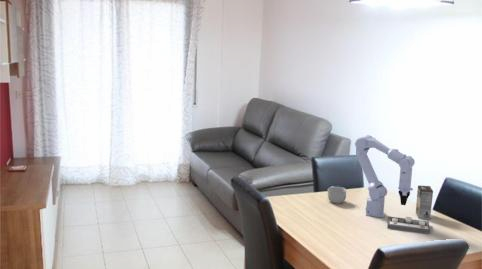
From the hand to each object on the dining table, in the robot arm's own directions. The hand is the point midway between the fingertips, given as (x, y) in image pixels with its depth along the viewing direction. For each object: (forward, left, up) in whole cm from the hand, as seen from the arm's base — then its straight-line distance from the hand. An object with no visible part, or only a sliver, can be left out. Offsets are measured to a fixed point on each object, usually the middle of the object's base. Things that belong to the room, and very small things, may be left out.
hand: (403, 204), depth 227 cm
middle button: (+3, -5, -7) cm, 9 cm away
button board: (+3, -6, -9) cm, 12 cm away
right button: (+10, -5, -9) cm, 14 cm away
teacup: (-37, +20, -10) cm, 43 cm away
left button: (-3, -5, -9) cm, 11 cm away
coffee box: (+11, +13, -10) cm, 20 cm away
